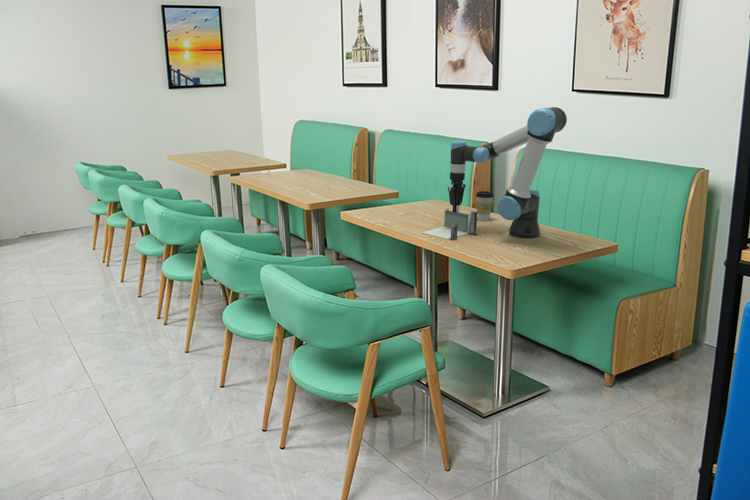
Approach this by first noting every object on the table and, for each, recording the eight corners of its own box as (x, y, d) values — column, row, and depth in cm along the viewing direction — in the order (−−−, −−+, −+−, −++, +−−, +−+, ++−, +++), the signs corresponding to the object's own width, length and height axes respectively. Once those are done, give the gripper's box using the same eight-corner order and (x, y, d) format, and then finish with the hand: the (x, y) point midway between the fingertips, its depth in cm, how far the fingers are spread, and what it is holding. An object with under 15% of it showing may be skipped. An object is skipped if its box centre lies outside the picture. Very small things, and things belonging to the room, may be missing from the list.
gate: (471, 231, 311) (472, 212, 309) (469, 232, 310) (470, 213, 307) (446, 226, 322) (446, 207, 320) (443, 226, 321) (444, 208, 318)
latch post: (456, 239, 301) (457, 224, 299) (453, 240, 299) (454, 225, 297) (454, 238, 302) (454, 223, 300) (450, 239, 300) (451, 224, 298)
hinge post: (476, 234, 310) (478, 211, 306) (473, 235, 308) (474, 212, 305) (472, 233, 311) (473, 211, 308) (469, 234, 310) (470, 211, 307)
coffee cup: (492, 222, 336) (494, 194, 332) (474, 221, 338) (475, 193, 334) (492, 218, 346) (494, 191, 341) (474, 217, 347) (476, 190, 343)
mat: (469, 233, 311) (469, 232, 311) (447, 239, 300) (447, 238, 300) (442, 227, 323) (442, 226, 323) (421, 233, 312) (421, 232, 312)
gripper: (458, 169, 319) (456, 214, 326) (443, 172, 310) (442, 218, 317) (470, 171, 314) (468, 216, 321) (456, 174, 305) (454, 221, 312)
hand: (455, 217), depth 319 cm, fingers closed
